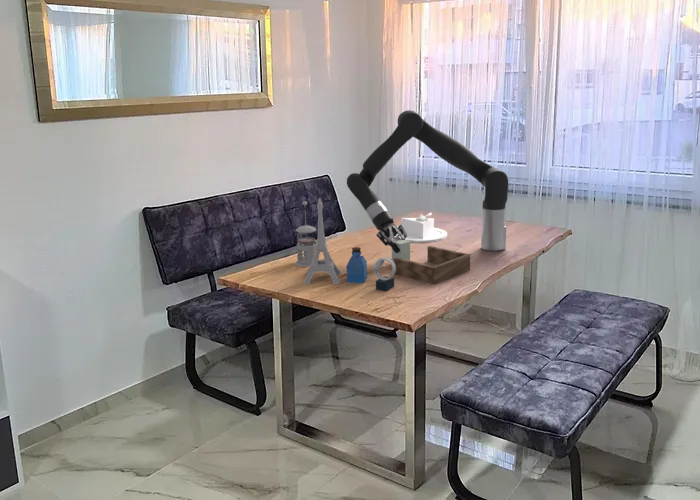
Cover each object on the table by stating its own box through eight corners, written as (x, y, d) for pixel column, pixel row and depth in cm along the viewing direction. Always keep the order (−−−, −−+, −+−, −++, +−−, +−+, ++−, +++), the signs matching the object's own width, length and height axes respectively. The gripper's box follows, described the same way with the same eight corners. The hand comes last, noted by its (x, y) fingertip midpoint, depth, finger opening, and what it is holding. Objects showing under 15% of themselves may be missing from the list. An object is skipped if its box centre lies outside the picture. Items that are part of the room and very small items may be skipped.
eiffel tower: (306, 273, 256) (302, 195, 247) (341, 272, 255) (339, 194, 247) (302, 284, 243) (299, 202, 235) (339, 284, 242) (337, 202, 234)
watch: (378, 284, 241) (378, 254, 238) (398, 287, 237) (398, 257, 234) (370, 288, 236) (370, 258, 233) (391, 292, 232) (391, 261, 229)
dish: (455, 233, 308) (456, 208, 305) (432, 246, 288) (432, 220, 285) (408, 227, 321) (408, 203, 318) (381, 239, 301) (381, 214, 298)
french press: (301, 268, 261) (298, 205, 254) (289, 260, 271) (286, 199, 264) (323, 264, 266) (321, 202, 259) (311, 257, 275) (309, 197, 269)
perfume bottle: (363, 283, 242) (363, 251, 239) (347, 282, 244) (346, 250, 240) (366, 277, 248) (366, 246, 245) (350, 277, 249) (349, 245, 246)
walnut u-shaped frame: (470, 269, 254) (470, 254, 252) (434, 284, 239) (434, 268, 237) (429, 260, 267) (429, 245, 265) (393, 273, 252) (393, 258, 250)
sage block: (410, 261, 263) (410, 241, 261) (401, 264, 259) (401, 244, 257) (400, 258, 266) (400, 239, 264) (391, 261, 263) (391, 241, 260)
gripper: (372, 213, 258) (396, 249, 253) (396, 206, 268) (420, 241, 263) (362, 224, 263) (385, 259, 258) (386, 218, 273) (409, 251, 268)
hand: (403, 250), depth 261 cm, fingers closed on sage block, 5 cm apart
